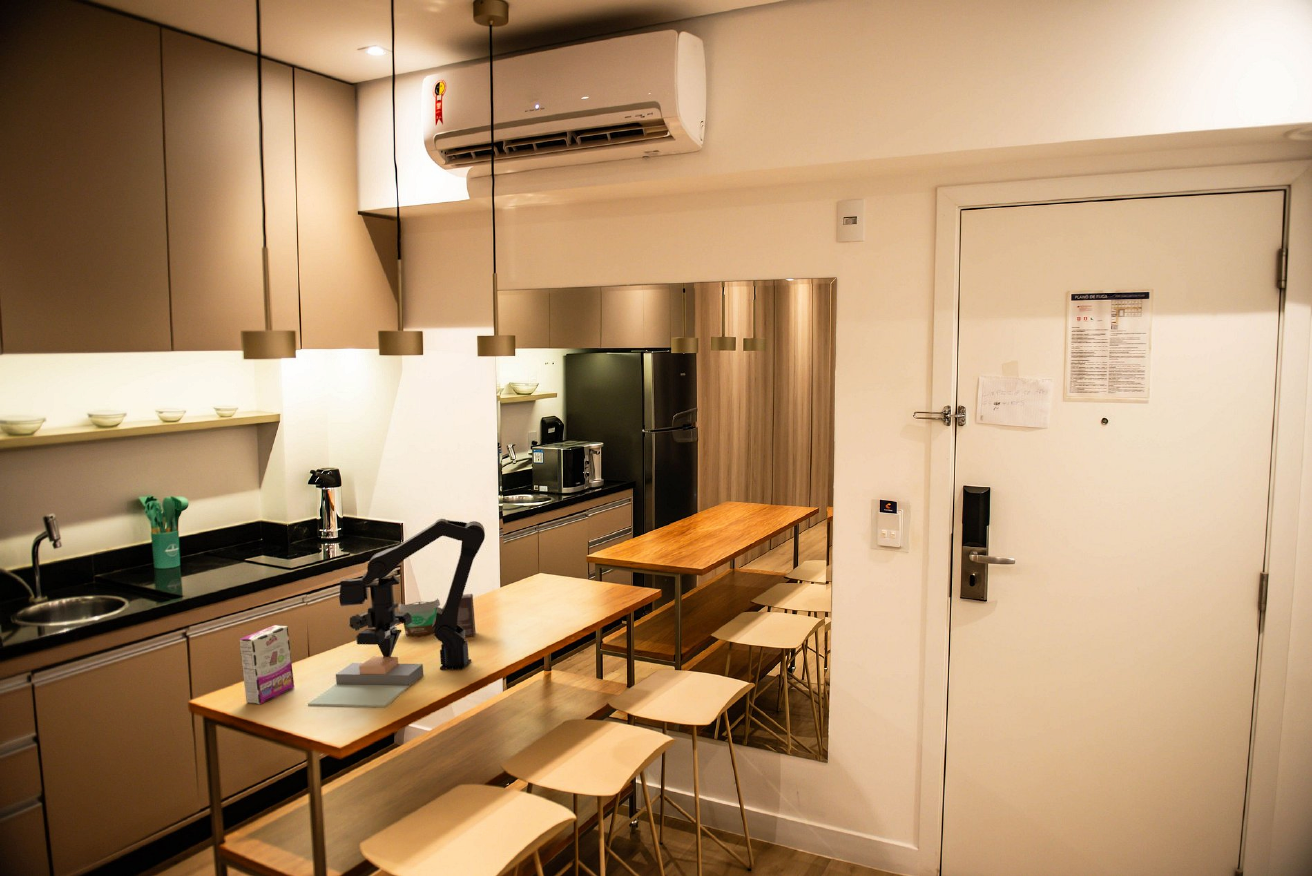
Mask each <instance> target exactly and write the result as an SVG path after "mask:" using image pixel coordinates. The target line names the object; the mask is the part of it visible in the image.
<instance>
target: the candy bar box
mask: <svg viewBox="0 0 1312 876" xmlns="http://www.w3.org/2000/svg"><path fill="white" fill-rule="evenodd" d="M289 636H290V635H289V628H288V625H279V624H274V625H271V626H269V627H266V628H264V629H261V630H259V631H256V632H254V633H252V634H249V635H246V636H243V637H241V638H239V641H238V643H239V649H240V658H241V665H242V674H243V683H244V692H245V693H244V694H245V702H246V703H247V702H249V703H248V704H252V703H256V704H255V705H262V704H264V703H266V702H268V701H270V700H272V699H275V698H277V697H279V696H280V695H282V694H284V693H287V692H288V691H290V690H292V689H294V688H295V680H294V673H293V662H292V656H291V655H292V653H291V643H290V637H289Z"/></svg>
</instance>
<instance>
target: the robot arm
mask: <svg viewBox="0 0 1312 876" xmlns="http://www.w3.org/2000/svg"><path fill="white" fill-rule="evenodd" d="M485 533H486V532H485V527H484V525H483V524H482V523H481V522H478V521H476V520H475V521H473V520H471V521H469V522H464V521H457V520H449V519H445V518H439V519H437V520H436V521H435V522H434V523H432V524H430V525H429V526H428V527H426V528H424V529H422V530H421V531H420V532H418V533H416V534H415V535H412V536H411V537H409V538H408V539H407V540H405V541H403V542H401V543H400V544H398V545H396V546H392V547H391V548H386V549H385V550H382V551H379V552H377V553H375V554H374V555H373V556H371V558H370V560H369V562H368V563H367V566H366V568H367V569H366V570H367V571H366V572H365V573H364V574H363V576H362V577H361V578H353V579H351V578H350V579H348V578H346V579H344V578H343V579H341V580H340V581H339V595H338V598H339V600H338V601H339V605H340V607H347V606H348V607H349V606H355V605H356V606H358V605H365V602H366V601H368V600H369V595H370V605H371V606H370V607H368V608H367V612H365V613H361V614H358V613H357V614H355V615H352V616H350V617H349V625H348V626H349V627H350V628H351V629H352V630H354V631H355V632H357V631H359V630H360V629H362V628H365V627H367V628H365V629H363V630H362V631H360V632H359V633H358V634H356V636H355V639H356V645H368V646H369V645H374V646H375V645H377V647H378V649H379V650H380V652H381V654H382V657H392V654H393V652H394V649H395V646H396V645H397V641H398V639H399V636H400V635H401V633H402V631H403V630H402V629H398V628H397V627H396V626H397V625H399V624H400V623H403V622H404V623H403V625H404V624H405V625H408V624H410V623H411V622H412V619H411V615H410V614H409V613H408V612H401V611H399V612H398V611H397V612H396V609H398V608H399V603H398V602H395V593H394V586H396V585H399V584H400V582H401V579H400V577H397V576H396V575H395V573H392V572H393V570H394V571H395V569H396V568H397V567H398V566H399V565H400V564H401V563H403V562H404V561H405V560H406V559H407V558H409V557H411V556H412V555H414V554H415V553H417V552H419V551H420V550H422V549H424V548H425V547H426V546H428V545H430V544H432V543H433V542H434V541H436V540H438V539H440V538H441V537H447V538H450V539H453V540H456V541H461V545H460V554H459V558H458V561H457V563H456V567H455V571H454V574H453V578H452V581H451V585H450V588H449V591H448V594H447V597H446V601H445V603H444V604H443V606H442V608H441V607H440V606H438V607H437V613H436V617H435V619H434V620H433V625H432V628H434V634H433V636H434V637H435V639H436V640H438V642H441V643H442V644H441V643H440V644H441V645H440V649H439V653H440V654H439V658H440V664H441V666H440V667H439V670H464V669H465V668H466V667H467V666H468V665H469V664H470V663H471V662H472V659H469V658H470V656H469V646H468V644H469V643H468V640H466V639H465V638H466V637H465V630H464V629H463V628H462V627H460V626H459V625H458V624H457V620H458V611H459V606H460V603H461V599H462V596H463V595H464V593H465V589H466V586H467V582H468V579H469V575H470V572H471V569H472V565H473V562H474V560H475V557H476V556H477V554H478V552H479V551H480V549H481V546H482V545H483V543H484V541H485V538H486V537H485V536H486V534H485ZM390 573H392V574H391V575H390ZM388 575H390V576H389V577H387V576H388ZM377 579H378V580H377ZM376 580H377V581H376ZM369 590H370V593H369Z"/></svg>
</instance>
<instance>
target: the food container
mask: <svg viewBox="0 0 1312 876" xmlns="http://www.w3.org/2000/svg"><path fill="white" fill-rule="evenodd" d="M440 606H441V602H440V599H439V598H438V597H437V598H436V599H435V600H433V601H432V600H431V601H416V602H413V603H408V604H407V603H406V604H402V603H401V602H399V604H398V607H397V609H398V611H399V612H408V613H409V614H410V615H411V619H412V622H411V623H410V624H408V625H405V624H404V622H402V623H403V628H404V633H405V634H404V635H405V636H406V637H408V636H409V638H422V637H421V636H424V637H427V636H430V635H431V636H432V635H434V628H432V625H433V620H434V619H435V617H436V613H437V607H440Z"/></svg>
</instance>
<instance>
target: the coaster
mask: <svg viewBox="0 0 1312 876" xmlns="http://www.w3.org/2000/svg"><path fill="white" fill-rule="evenodd" d="M362 663H363V664H362V665H360V666H359V670H360V674H386V673H387V672H389V671H390V670H391V669H393V668H394V667H395V666H397V665H398V664H399V657H398V656H391V657H383V656H372V657H370V658H369V659H367V660H365V661H364V662H362Z"/></svg>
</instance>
